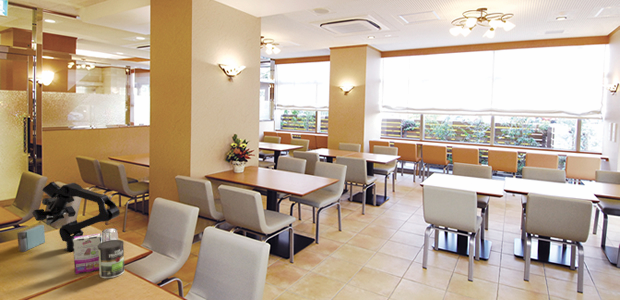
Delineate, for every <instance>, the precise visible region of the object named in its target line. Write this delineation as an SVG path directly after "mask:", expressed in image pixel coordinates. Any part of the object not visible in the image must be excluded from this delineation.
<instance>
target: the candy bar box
mask: <svg viewBox="0 0 620 300" xmlns="http://www.w3.org/2000/svg"><path fill="white" fill-rule="evenodd" d="M100 243H102V232H101V233H93V234H88V235H87V234H85V235H83V236H78V237H74V239H73V252H72V253H73V263H74V274H75V275H78V274H84V273H85V274H86V273H90V272H96V271H99V255H98V245H99V244H100Z"/></svg>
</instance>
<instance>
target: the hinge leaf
mask: <svg viewBox="0 0 620 300" xmlns="http://www.w3.org/2000/svg"><path fill="white" fill-rule="evenodd" d="M38 225H39V226H37V227H34V226H33V227H34V228H32V229H29V230H27V231H24V232H25V236H26V238H24V239H20V243H21V251H20V252H21V253H23V252H24V253H25V252H27V251H29V250H31V249H33V248H35V247H37V246H40V245H42V244H44V243H46V239H45V238H46V235H45V233H46V232H45V225H43V224H38Z"/></svg>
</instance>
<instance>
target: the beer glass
mask: <svg viewBox="0 0 620 300" xmlns="http://www.w3.org/2000/svg"><path fill="white" fill-rule="evenodd" d="M101 235H102V242H105V241H110V240H119V234H118V228H113V227H112V228H111V227H110V228H109V227H108V228H105V229H103V230H101Z"/></svg>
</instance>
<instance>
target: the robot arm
mask: <svg viewBox="0 0 620 300" xmlns="http://www.w3.org/2000/svg"><path fill="white" fill-rule="evenodd" d="M41 191H42V192H43V193H44V194H45V195H47V196H48V197H45V198H43V199H42V202H41V204H42V205H43V206H47V210H44V209H43V208H39V209H34V210H33V211H32V212H31V213H32V215H33V217H34V218H35V220H36V221H37V222H40V221H45V220H46V226H49V225H50V226H51V225H53V224H55V223H57V222H58V221H60V220H63V219H65V216H64V215H67V216H68V218H73V217H75V216H76V214H77V212H76V209H75V208H74V207H73V205H68V204H70V203H72V202H74V201H75V199H74V197H77V198H81V199H82V200H83V199H84V200H88V201H90V202H94V203H96V204H97V206H98V212H99V213H98V214H97V215H94V216H92V217H89V218H87V219H84V220H81V221H78V220H77V219H76V220H73V221H70V222H68V223H65V224H62V225H61V227H60V228H59V230H58V232H59V237H60V238H61V241H62V242H66V248H64V249H63V251H65V252H68V253H74V252H73V239H74V237H78V236H84V231H83V230H82V229H84V228H88V227H90V226H92V225H95V224H97V223H101V222H102V223H103V222H109V221H111V220H112V219H115V218H118V217H119V216H120V213H121V211H120V209H119V208H118V205H117V204H116V203H115V202H114V201H113V200H111V198H110V197H109V196H108V195H107V194H102V193H99V192H96V191H92V190H89V189H85V188H84V187H82V186H81V185H80V184H78V183H76V182H69V183H67V184H63V185H61V187H60V186H59V185H58V184H56V182H54V181H51V182H49V183H48V184H47V185H45V186H44V187H43V188H42V190H41ZM106 206H107V207H109V208H106Z"/></svg>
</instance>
